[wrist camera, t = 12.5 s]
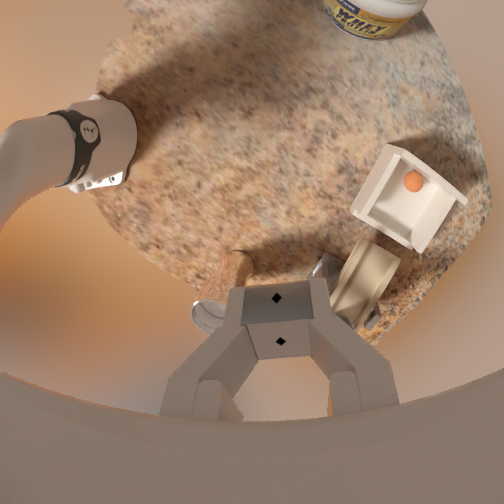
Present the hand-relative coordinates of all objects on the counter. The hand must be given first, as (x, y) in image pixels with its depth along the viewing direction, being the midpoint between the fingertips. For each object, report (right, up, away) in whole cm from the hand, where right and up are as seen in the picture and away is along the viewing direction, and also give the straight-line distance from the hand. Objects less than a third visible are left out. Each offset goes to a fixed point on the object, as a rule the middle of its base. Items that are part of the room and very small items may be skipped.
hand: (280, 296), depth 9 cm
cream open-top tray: (+22, +10, +30) cm, 39 cm away
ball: (+23, +12, +26) cm, 37 cm away
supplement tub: (+16, +38, +18) cm, 45 cm away
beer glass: (-3, -1, +41) cm, 42 cm away
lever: (+15, -4, +35) cm, 38 cm away
